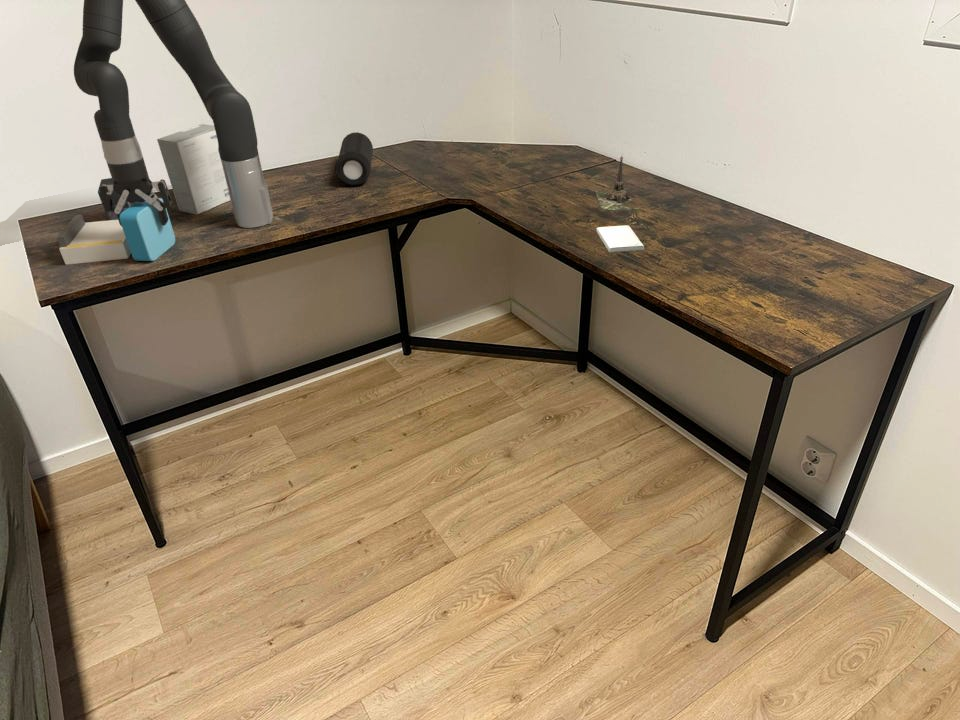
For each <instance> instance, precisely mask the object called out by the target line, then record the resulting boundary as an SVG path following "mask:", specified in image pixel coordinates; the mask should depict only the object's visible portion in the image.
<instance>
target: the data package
mask: <svg viewBox="0 0 960 720" xmlns="http://www.w3.org/2000/svg"><path fill="white" fill-rule="evenodd" d="M158 198H159V199H160V200H161V201H162V202H163V199H162V197H158ZM166 212H167V215H168V222H167V223H166V225H164V226H162V225H161V221H160V218H159V215H158V209H157V208H155V207H154V206H153V205H150V204H149V203H148V202H147V201H144V202H135V204H133V205H132V206H130V207H129V208H127V209H126V210H124V211H123V212H122V213H121V214H120V222H121V225H122V228H123V231H124V234H125V237H126V239H127V242H128V245H129V248H130V251H131V254H130V255H131V257H132V258H133V259H134V260H135V261H136V262H137V261H138V262H140V261H141V262H144V261H145V262H155V261H156V260H157V259H159V258H160V257H161V256H162V255H164V254H165V253H166V252H167V251H168V250H169V249H170V248H172V247H174V245H175V243H176V235H175V233H174V230H173V226H172V222H171V219H170V216H169V214H168V210H167V208H166Z"/></svg>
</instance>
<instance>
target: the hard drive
mask: <svg viewBox="0 0 960 720" xmlns="http://www.w3.org/2000/svg"><path fill="white" fill-rule="evenodd" d="M595 230H596V233H597V235H598V236H599V238H600V240H601V241H602V243H603V244H604V246H605V248H606V249H607V252H608V253H618V252H629V251H643V250H645V246H644V244H643V243H642V241H640V239H639V238H638V236H637V235H636V233H635V231H634V230H633V229H632V228H631V227H630V225H628V224H627V225H612V226H611V225H610V226H600V227H596V229H595Z"/></svg>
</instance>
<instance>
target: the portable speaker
mask: <svg viewBox="0 0 960 720" xmlns="http://www.w3.org/2000/svg"><path fill="white" fill-rule="evenodd" d="M373 151H374V147H373V143H372V141H371V139H370V138H369V137H368V136H367V135H366V134H364V133H361V132H358V131H357V132H355V131H354V132H351V133H348V134H346V136H345V137H343V140H342V142H341V145H340V150H339V154H338V157H337V161H336V163H335V170H336V174H337V177H339V179H340V180H341V181H342V182H343V183H345V184H347V185H349V186H359V185H362V184H364V183H365V182H366V181H367V180H368V178H369V177H370V174H371V169H372V162H373V161H372V160H373Z"/></svg>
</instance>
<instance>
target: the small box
mask: <svg viewBox="0 0 960 720" xmlns="http://www.w3.org/2000/svg"><path fill="white" fill-rule="evenodd" d="M104 183H106V184H108V185H113V180H112V177H108V178H102V179H101V180H100V183H99V185H98V190H97V194H98V197H99V199H100V202H101V205H102V208H103V210H104V212H105V215H106V218H107V221H109V220H118V218H117V215H116V213H114V212H107V211H106V210H105V206H104V203H103V199H102V195H101V192H100V187H101V186H102V185H103V184H104ZM111 197H112V201H113V204H114V205H116V206H117V203H118V201H119V199H120V197H121V196H120V195H118V194H117V193H116V192H115V191H114V190H113V192H112V194H111ZM135 203H136V202H134V203H130V202H126V203H125V205H124V208H123V211H124V210H126V209H127V208H129V207H130V206H132V205H133V204H135Z"/></svg>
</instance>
